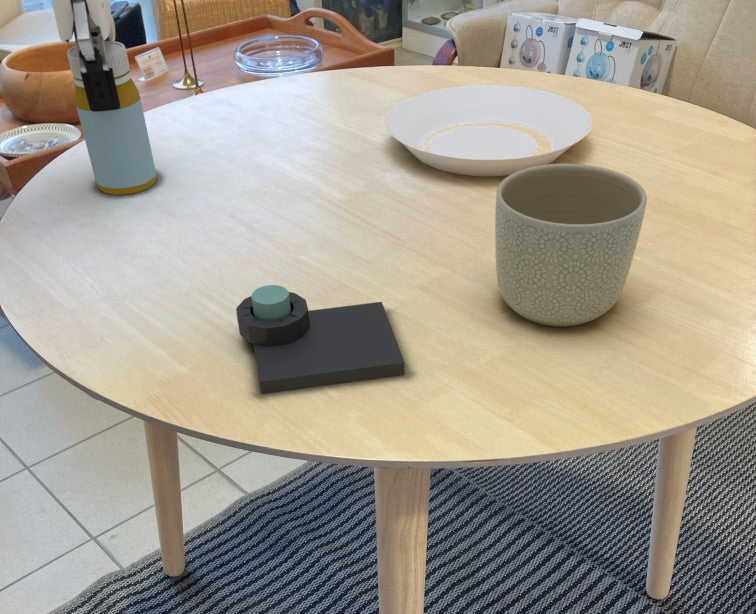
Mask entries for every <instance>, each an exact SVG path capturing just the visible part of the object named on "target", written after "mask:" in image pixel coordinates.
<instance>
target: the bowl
mask: <svg viewBox="0 0 756 614" xmlns="http://www.w3.org/2000/svg"><path fill="white" fill-rule="evenodd" d="M384 124H385V128H386V130H387V131H388V133H389V134H390V136H391V137H393V138H394V139H395V140H396V141H398V142H400V143H401V144H402V145H403V146H404V147H405V148H406V149H407V150H408V151H409V152H410V153H411V154H412V155H413V156H414V157H415V158H416V159H418V160H419V161H420V162H422V163H423V164H425V165H427V166H429V167H431V168H433V169H436V170H439V171H443V172H446V173H451V174H456V175H462V176H470V177H503V176H504V177H505V176H509V175H511V174H513V173H515V172H518V171H520V170H523V169H526V168H530V167H535V166H540V165H548V164H552V163H553V162H554V161H555V160H557V159H558V158H559V157H560V156H561V155H563V154H564V153H565V152H566V151H567V150H569V149H570V148H571V147H572V146H573V145H575V144H577V143H578V142H580V141H581V140H582V139H583V138H585V137H586V136H587V135H588V134H589V133H590V131H591V130H592V127H593V119H592V116H591V114H590V113H589V111H588V110H587V109H586V108H584V107H583V105H581V104H579V103H577V101H574V100H572V99H570V98H567V97H565V96H563V95H560V94H557V93H553V92H550V91H546V90H543V89H542V90H541V89H537V88H533V87H532V88H531V87H525V86H517V85H505V84H471V85H469V84H468V85H459V86H449V87H444V88H439V89H433V90H429V91H426V92H422V93H419V94H416V95H414V96H413V95H412V96H411V97H409V98H406V99H404V100H402V101H400V102H399V103H397V104H396V105H394V106H393V107H392V108H391V109H390V110H389V111H388V113H387V114H386V117H385V120H384ZM468 124H469V125H468ZM470 124H478V125H470ZM479 124H481V125H479ZM482 124H484V125H482ZM485 124H486V125H485ZM487 124H505V125H511V126H516V127H517V126H518V127H521V128H525V129H528V130H531V131H534V132H536V133H538V134H540V135H542V136H543V137H544V138H546V140H548V142H549V144H550V151H549V152H547V153H543V154H538V155H535V154H536V153H537V151H538V150H539V144H538V141H537V140H536V139H535V138H534V137H533V136H531V135H530V134H529V133H526V132H524V131H521V130H518V129H516V128H510V127H507V126H500V125H487ZM462 125H466V126H462ZM456 126H457V127H456ZM458 126H459V127H458ZM452 127H454V128H452ZM445 129H447V130H445ZM442 130H444V131H442ZM440 131H441V132H440ZM438 132H439V133H438ZM436 133H438V134H436ZM434 134H435V135H434ZM433 135H434V136H433ZM432 136H433V137H432ZM430 137H432V138H431V139H429V138H430ZM428 139H429V141H428V142H427V149H428V150H429V152H428V151H425V147H424V146H425V144H426V141H427V140H428Z"/></svg>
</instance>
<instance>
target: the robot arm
mask: <svg viewBox="0 0 756 614" xmlns="http://www.w3.org/2000/svg"><path fill="white" fill-rule="evenodd" d="M51 5H52V9H53V13H54V17H55V21H56V26H57V31H58V36H59V39H60V41H61V42H62V43H64V44H66V45H67V44H69V43H70V41H71V40H73V36H74V42H75V46H76V47H77V52H78V57H79V62H80V67H81V76H82V80H83V84H84V88H85V92H86V96H87V100H88V104H89V108H90V110H91V111H93V112H98V111H108V110H118V109H119V108H120V101H119V96H118V92H117V88H116V83H115V79H114V75H113V70H112V68H109V65H108V60H107V54H106V49H105V43H104V41H113V38H112V35H111V28H112V18H113V17H112V10H111V3H110V0H51ZM94 45H99V50H98V48H97V47H94ZM99 52H100V54H99Z"/></svg>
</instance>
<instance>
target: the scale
mask: <svg viewBox="0 0 756 614" xmlns="http://www.w3.org/2000/svg"><path fill="white" fill-rule="evenodd" d="M288 292H289V299H290V307H291V312H290V314H289V315H288V316H286V317H283V318H281V319H277V320H262V319H257V318H256V317H255V315H254V311H253V305H252V298H251V295H250V296H248V297H246V298H244V299H243V300H242V301H241V302H240V303H239V304H238V306H236V308H235V311H236V319H237V325H238V331H239V335H240V337H242V338H243V339H244V340H245V341H247V342H248V343H250V344H253V348H254V355H255V362H256V369H257V376H258V383H259V389H260V390H259V391H260V394H261V395H265V394H272V393H279V392H287V391H295V390H302V389H304V390H305V389H310V388H318V387H319V388H320V387H325V386H333V385H339V384H348V383H354V382H362V381H369V380H378V379H386V378H392V377H400V376H405V360H404V357H403V355H402V352H401V350H400V347H399V344H398V341H397V339H396V336H395V333H394V332H393V331H394V330H393V328H392V325H391V322H390V319H389V318H388V314H387V312H386V310H385V306H384V303H383V302H382V301H376V302H367V303H361V304H352V305H344V306H336V307H328V308H327V307H326V308H321V309H320V308H319V309H311V310H309V307H308V302H307V299H305V298H304V297H303V296H301V295H299V294H297V293H295V292H292V291H288Z"/></svg>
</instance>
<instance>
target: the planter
mask: <svg viewBox="0 0 756 614" xmlns="http://www.w3.org/2000/svg"><path fill="white" fill-rule="evenodd" d="M495 195H496V196H495V213H494V214H495V215H494V216H495V217H494V219H495V220H494V221H495V222H494V236H495V238H494V241H495V244H494V245H495V268H496V279H497V280H496V281H497V286H498V290H499V292H500V295H501V297H502V299H503V300H504V302H505V303H506V304H507V305H508V307H510V308H511V310H513V311H514V312H515V313H516V314H518V315H519V316H521V317H522V318H524V319H526V320H528V321H530V322H532V323H536V324H539V325H543V326H547V327H556V328H557V327H560V328H562V327H564V328H565V327H566V328H567V327H574V326H579V325H584V324H587V323H589V322H591V321H594V320H596V319H598V318H600V317H601V316H603V315H604V314H605V313H607V312H609V310H611V309H612V307H613V306H614V305H615V304H616V303H617V301H618V300H619V298H620V297H621V295H622V292H623V290H624V287H625V284H626V282H627V279H628V276H629V273H630V270H631V267H632V263H633V260H634V256H635V252H636V248H637V246H638V242H639V237H640V234H641V229H642V226H643V222H644V217H645V213H646V208H647V201H648V196H647V193H646V191H645V189H644V188H643V186H641V184H639V182H637V181H636V180H634V179H633V178H631V177H630V176H628V175H626V174H623V173H621V172H619V171H616V170H613V169H609V168H605V167H601V166H595V165H588V164H582V163H550V164H548V165H540V166H535V167H530V168H526V169H523V170H520V171H518V172H515V173H513V174H511V175H507V177H505V178H504V179H503V180H501V182H500V183H499V184H498V186H497V189H496V194H495Z"/></svg>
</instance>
